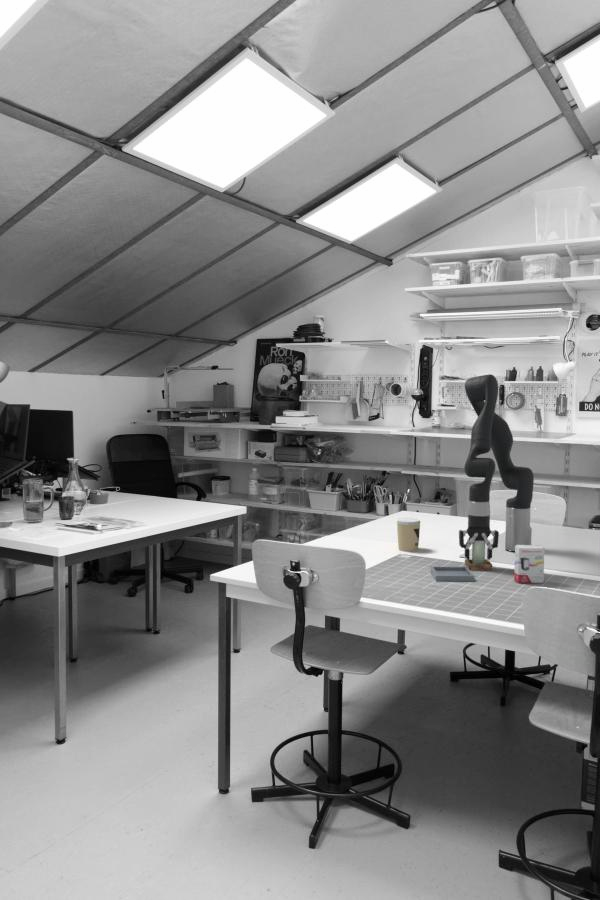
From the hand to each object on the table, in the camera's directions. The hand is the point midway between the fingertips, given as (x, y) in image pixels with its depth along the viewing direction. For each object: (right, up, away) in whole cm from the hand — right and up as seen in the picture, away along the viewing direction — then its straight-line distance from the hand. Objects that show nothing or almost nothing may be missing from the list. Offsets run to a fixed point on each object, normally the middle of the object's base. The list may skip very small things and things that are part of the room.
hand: (478, 559), depth 254 cm
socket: (0, -3, 0) cm, 3 cm away
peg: (0, -3, 0) cm, 3 cm away
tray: (-12, -4, -12) cm, 17 cm away
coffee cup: (-21, -1, +29) cm, 36 cm away
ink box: (+12, -5, -18) cm, 23 cm away
